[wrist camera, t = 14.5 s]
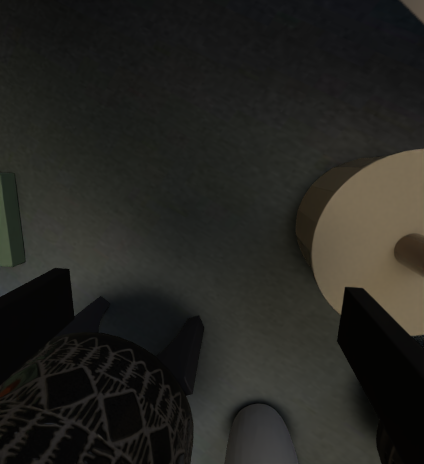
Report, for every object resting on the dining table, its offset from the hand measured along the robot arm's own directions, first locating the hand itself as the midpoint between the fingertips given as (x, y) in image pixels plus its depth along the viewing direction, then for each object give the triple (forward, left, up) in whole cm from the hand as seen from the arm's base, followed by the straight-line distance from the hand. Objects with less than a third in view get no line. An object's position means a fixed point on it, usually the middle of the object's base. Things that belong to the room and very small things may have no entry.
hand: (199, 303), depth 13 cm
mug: (+30, +8, -21) cm, 38 cm away
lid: (0, +16, -12) cm, 19 cm away
